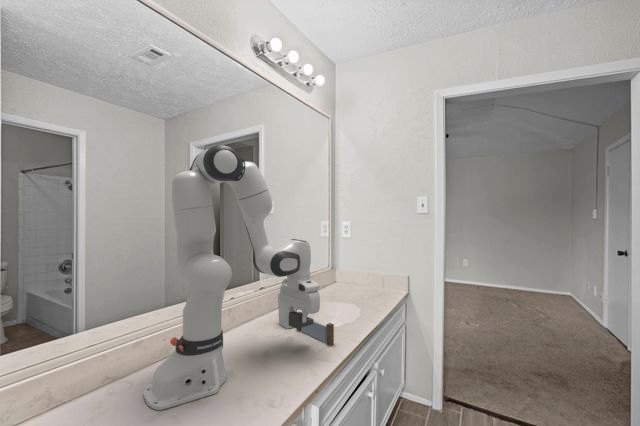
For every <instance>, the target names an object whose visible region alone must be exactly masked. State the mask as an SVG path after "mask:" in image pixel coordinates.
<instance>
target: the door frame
mask: <svg viewBox="0 0 640 426" xmlns="http://www.w3.org/2000/svg"><path fill="white" fill-rule="evenodd" d="M297 312H298V313H300V314H302V315H303V313H302V311H297ZM325 326H326V342H325V344H326V346H329V347H333V346H335V343H334V341H335V340H334V339H335V335H334V334H335V333H334V332H335V331H334V330H335V327H334V323H332V322H329V323H326V325H325ZM296 331H297V333H303V332H302V331H301V328H299V329H296Z"/></svg>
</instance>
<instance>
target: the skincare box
mask: <svg viewBox="0 0 640 426" xmlns="http://www.w3.org/2000/svg"><path fill="white" fill-rule="evenodd" d="M279 296H280V292H278V293H277V303H278V304H277V305H278V307H277V309H278V324H279V325H280V326H282V327H283V328H285V329H286V330H287V329H292V328H294V327H291V326H289V310H288V305H286V304H283V303H281V302H280V300H279ZM294 311H295V312H298V309H297V308H294Z"/></svg>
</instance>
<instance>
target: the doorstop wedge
mask: <svg viewBox="0 0 640 426" xmlns="http://www.w3.org/2000/svg"><path fill="white" fill-rule="evenodd" d="M298 312H299V311H297V312H295V311H292V312H289V326H291V327H293V328H294V329H296V330H297V329H299V328H302V327H305V326H309V325H312V324H313V322H314V321H315V319H314V318H311V317H309V316H307V320H306V322H305V323H303V322H301V321H300V320H301V319H300V317H302V314H300V313H298Z"/></svg>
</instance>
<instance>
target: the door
mask: <svg viewBox="0 0 640 426" xmlns="http://www.w3.org/2000/svg"><path fill="white" fill-rule="evenodd" d="M301 331H302V332H301V333H305V334H307V335H310V336H311V337H313V338H315V339H318V340H320V341H322V342H325V343H326V325H324V324H322V323H321V322H317V321H315V320H314V322H313V324H312V325H309V326H305V327H302V328H301Z"/></svg>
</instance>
